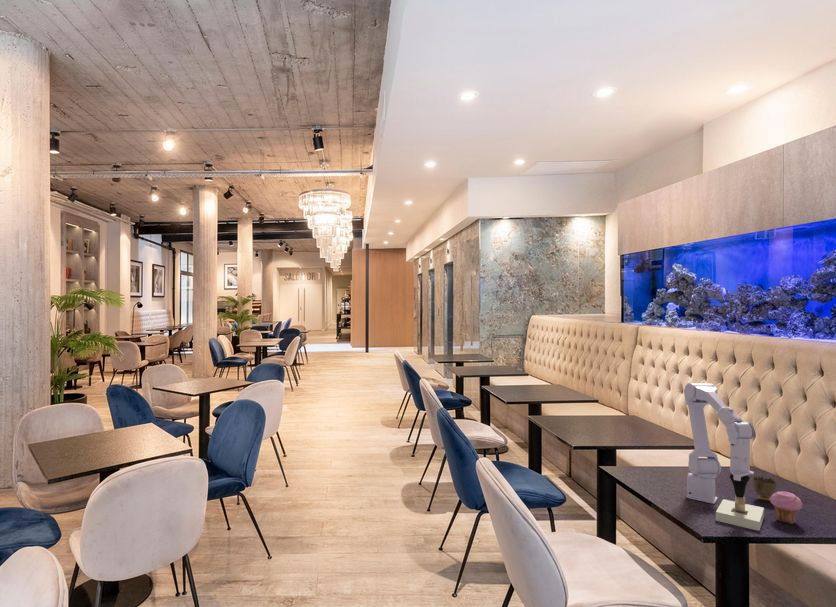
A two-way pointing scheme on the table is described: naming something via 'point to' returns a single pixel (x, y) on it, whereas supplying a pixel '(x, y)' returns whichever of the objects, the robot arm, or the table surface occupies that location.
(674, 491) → the table surface
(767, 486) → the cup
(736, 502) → the peg
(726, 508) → the board
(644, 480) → the table surface
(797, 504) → the cupcake
